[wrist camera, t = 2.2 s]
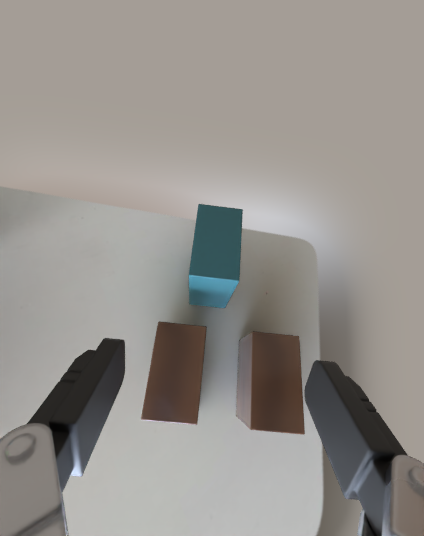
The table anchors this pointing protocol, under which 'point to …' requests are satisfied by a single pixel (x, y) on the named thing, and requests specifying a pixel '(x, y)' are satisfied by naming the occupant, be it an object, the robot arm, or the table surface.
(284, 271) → the table surface
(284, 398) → the walnut block
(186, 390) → the walnut block
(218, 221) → the teal block
